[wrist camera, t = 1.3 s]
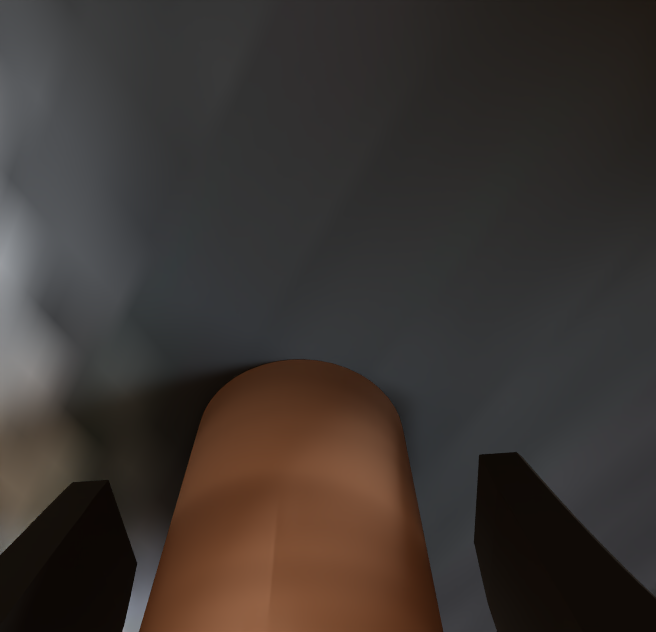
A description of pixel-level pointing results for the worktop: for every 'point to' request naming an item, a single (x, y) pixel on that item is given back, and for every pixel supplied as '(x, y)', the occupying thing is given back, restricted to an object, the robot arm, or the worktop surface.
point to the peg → (296, 513)
